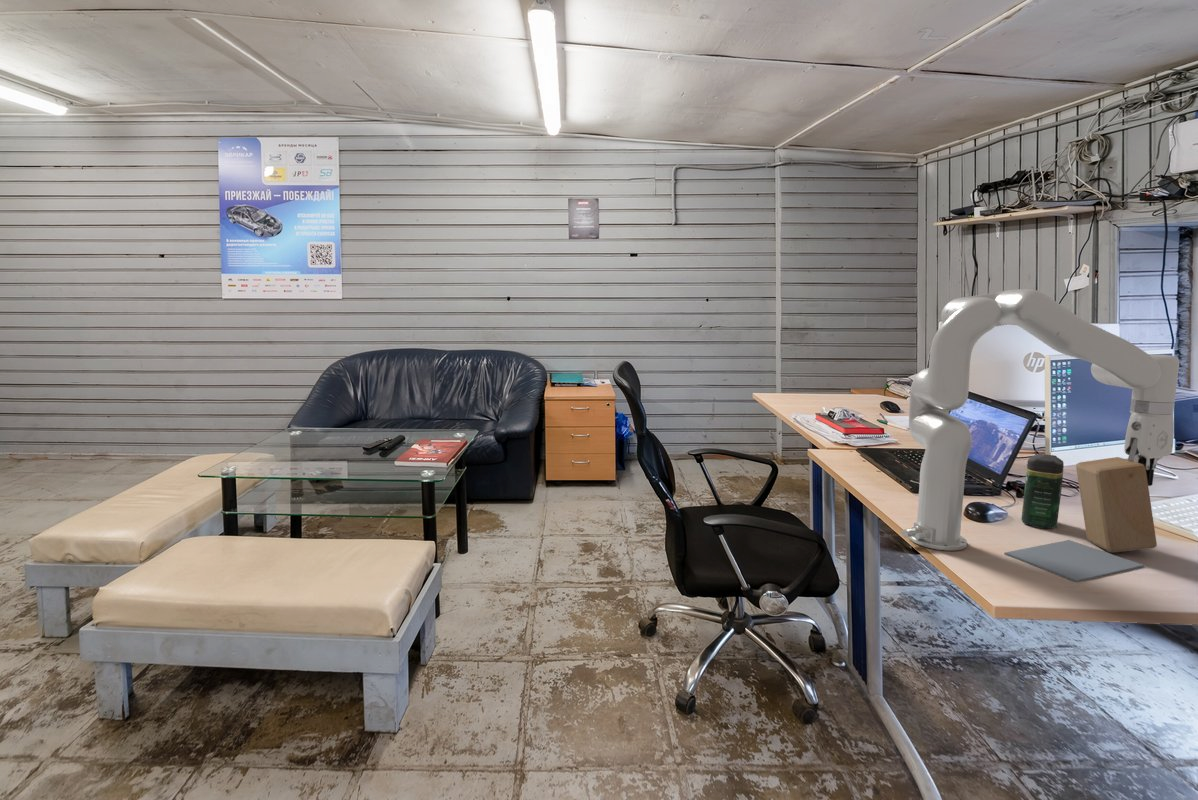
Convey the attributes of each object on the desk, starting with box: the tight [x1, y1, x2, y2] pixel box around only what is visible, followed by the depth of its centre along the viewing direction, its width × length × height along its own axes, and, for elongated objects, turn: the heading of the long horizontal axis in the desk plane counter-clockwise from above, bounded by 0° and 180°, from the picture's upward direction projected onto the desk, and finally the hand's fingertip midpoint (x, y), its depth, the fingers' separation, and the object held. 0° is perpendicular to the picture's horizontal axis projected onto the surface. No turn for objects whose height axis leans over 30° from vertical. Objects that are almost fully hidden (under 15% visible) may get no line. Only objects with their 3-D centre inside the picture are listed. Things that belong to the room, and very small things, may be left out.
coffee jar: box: [1021, 453, 1064, 529], centre depth 164 cm, size 10×8×19 cm
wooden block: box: [1075, 456, 1158, 554], centre depth 147 cm, size 10×10×20 cm
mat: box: [1004, 539, 1145, 583], centre depth 142 cm, size 22×16×1 cm
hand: (1142, 484), depth 147 cm, fingers closed
